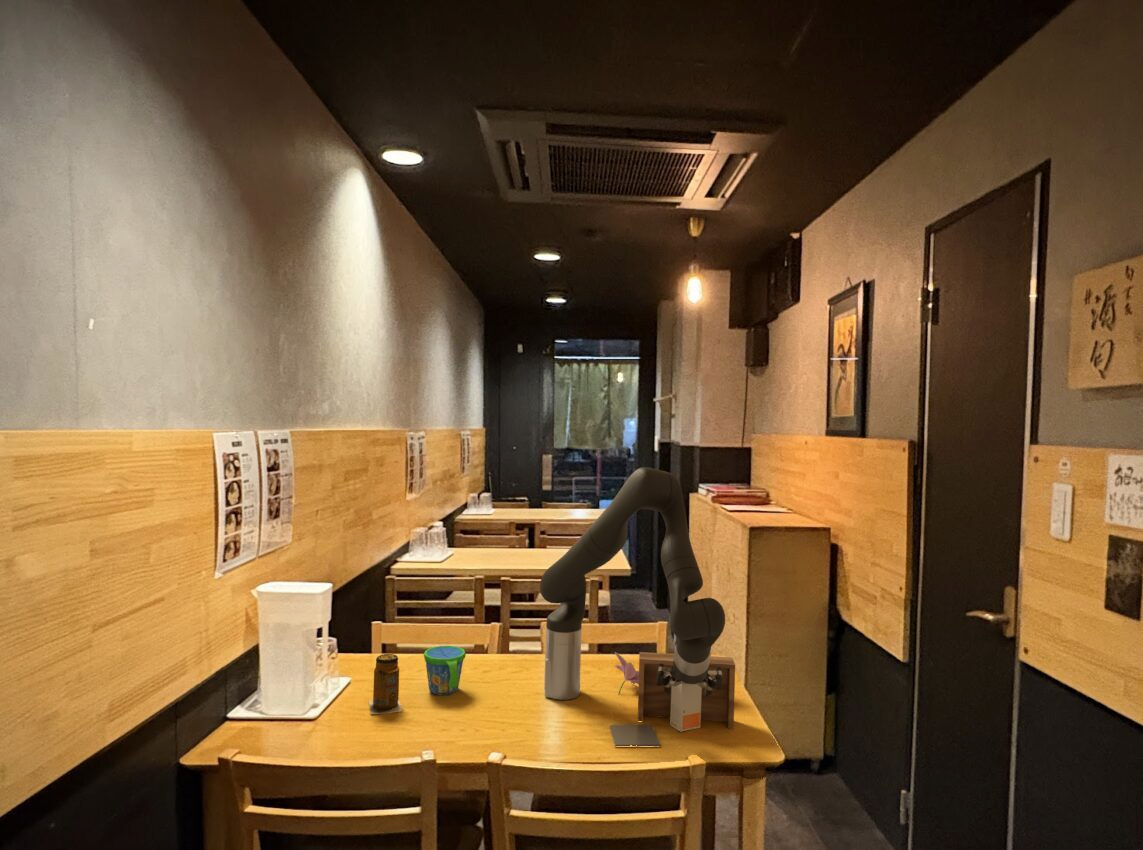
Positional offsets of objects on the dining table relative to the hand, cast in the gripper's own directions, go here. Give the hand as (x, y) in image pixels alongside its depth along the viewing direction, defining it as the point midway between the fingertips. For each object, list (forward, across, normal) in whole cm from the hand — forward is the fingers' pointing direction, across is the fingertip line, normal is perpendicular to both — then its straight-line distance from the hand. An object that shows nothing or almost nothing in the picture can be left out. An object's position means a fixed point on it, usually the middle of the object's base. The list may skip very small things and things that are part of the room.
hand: (687, 691), depth 154 cm
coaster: (+5, +12, +9) cm, 16 cm away
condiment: (+10, +73, +5) cm, 74 cm away
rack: (+13, 0, +2) cm, 13 cm away
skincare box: (+10, 0, +4) cm, 11 cm away
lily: (+24, +13, -10) cm, 29 cm away
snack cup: (+18, +62, -4) cm, 65 cm away
